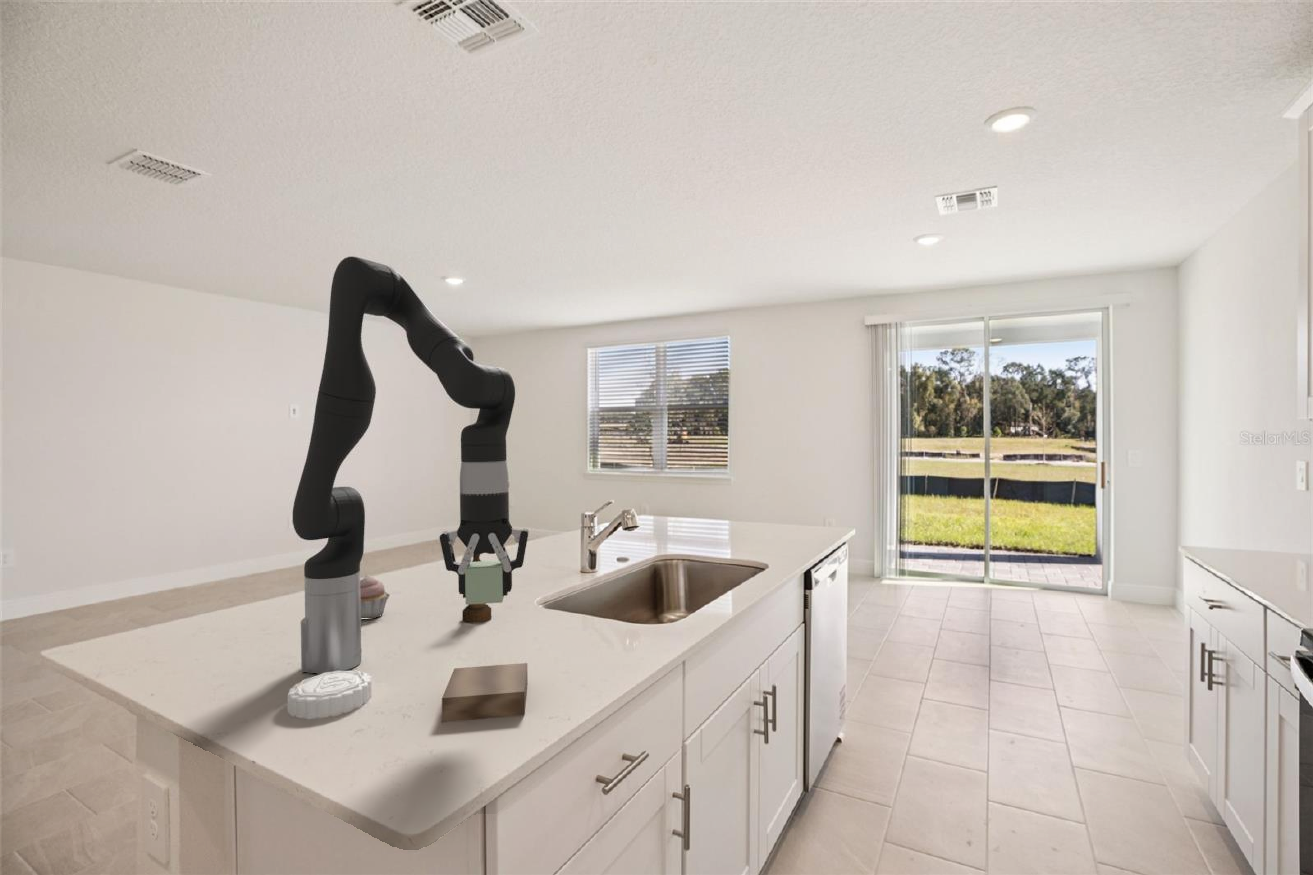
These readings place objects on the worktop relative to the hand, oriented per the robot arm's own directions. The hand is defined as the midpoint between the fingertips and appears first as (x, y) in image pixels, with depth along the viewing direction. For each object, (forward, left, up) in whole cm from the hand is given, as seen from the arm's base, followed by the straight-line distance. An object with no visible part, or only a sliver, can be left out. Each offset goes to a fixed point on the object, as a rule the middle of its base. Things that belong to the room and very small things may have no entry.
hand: (486, 595), depth 99 cm
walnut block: (0, 0, -17) cm, 17 cm away
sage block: (0, 0, -1) cm, 1 cm away
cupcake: (-33, +55, -17) cm, 66 cm away
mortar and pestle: (-7, +47, -17) cm, 51 cm away
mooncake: (-25, +5, -18) cm, 31 cm away
